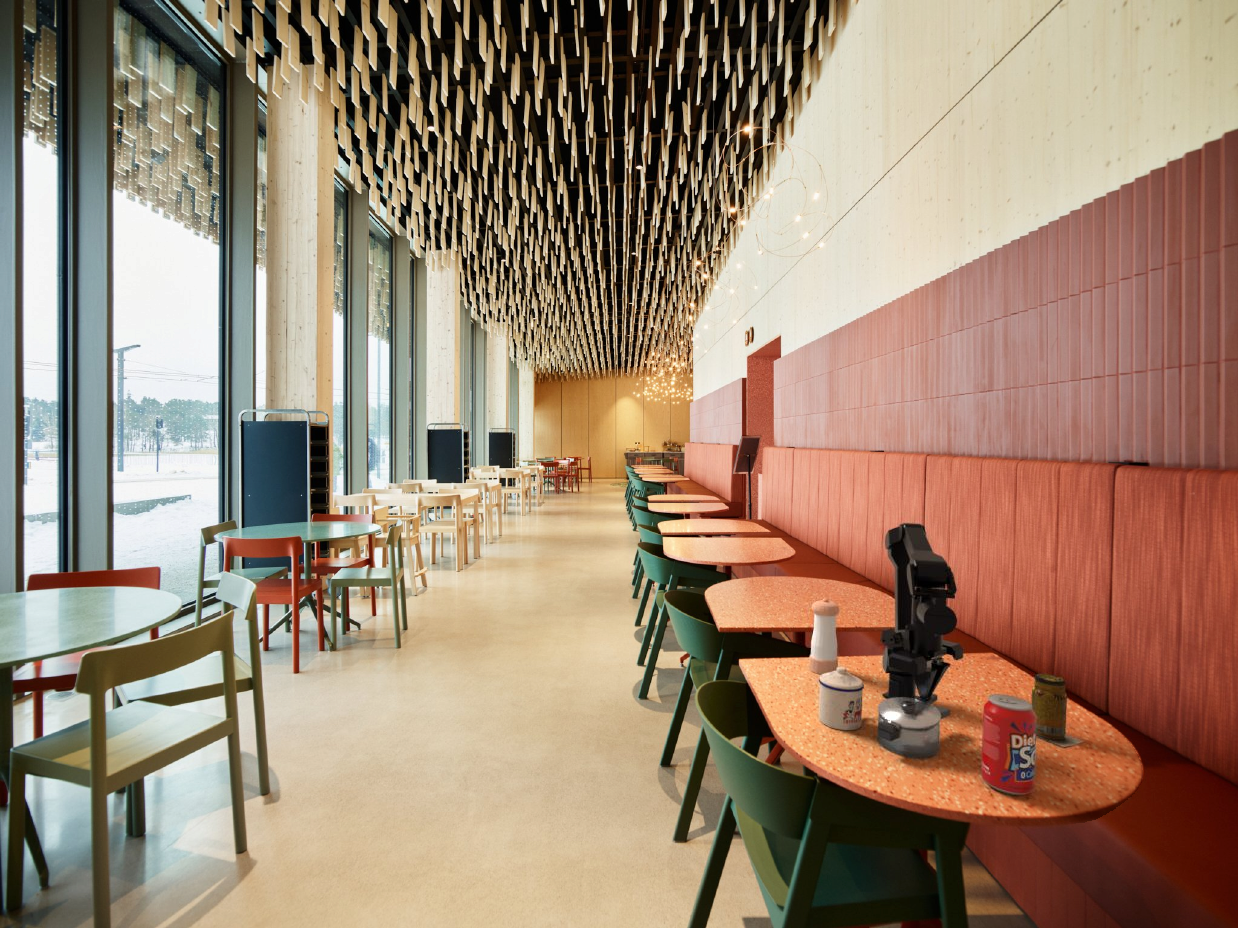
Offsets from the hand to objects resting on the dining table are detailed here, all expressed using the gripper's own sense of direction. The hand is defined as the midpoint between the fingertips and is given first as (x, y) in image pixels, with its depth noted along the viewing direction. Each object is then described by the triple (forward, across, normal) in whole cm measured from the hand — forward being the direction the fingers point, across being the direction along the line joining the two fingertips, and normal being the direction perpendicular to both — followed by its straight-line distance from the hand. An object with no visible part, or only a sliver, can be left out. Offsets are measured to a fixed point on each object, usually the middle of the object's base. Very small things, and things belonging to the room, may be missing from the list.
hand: (925, 697), depth 126 cm
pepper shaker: (+8, -16, -36) cm, 40 cm away
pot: (+8, +3, 0) cm, 9 cm away
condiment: (+9, -24, +14) cm, 29 cm away
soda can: (+8, +6, +18) cm, 21 cm away
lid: (+2, +5, 0) cm, 5 cm away
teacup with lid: (+8, +7, -14) cm, 18 cm away
